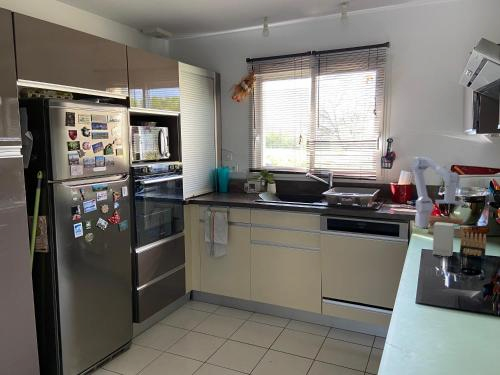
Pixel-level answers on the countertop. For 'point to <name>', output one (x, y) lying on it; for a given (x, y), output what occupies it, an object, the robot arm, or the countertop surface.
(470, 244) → the ammunition clip
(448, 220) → the lid
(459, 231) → the storage box
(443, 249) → the skincare box
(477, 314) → the countertop surface
